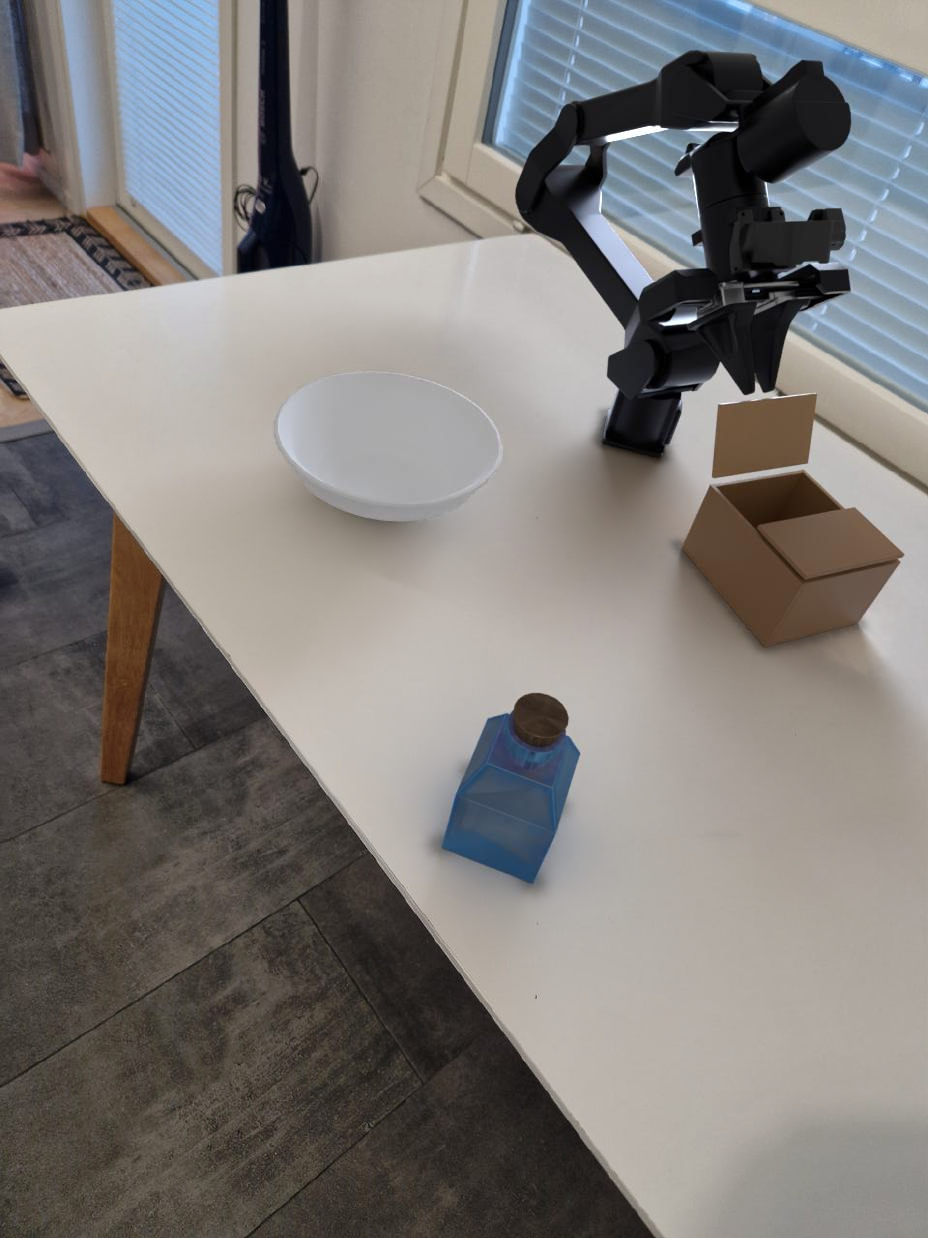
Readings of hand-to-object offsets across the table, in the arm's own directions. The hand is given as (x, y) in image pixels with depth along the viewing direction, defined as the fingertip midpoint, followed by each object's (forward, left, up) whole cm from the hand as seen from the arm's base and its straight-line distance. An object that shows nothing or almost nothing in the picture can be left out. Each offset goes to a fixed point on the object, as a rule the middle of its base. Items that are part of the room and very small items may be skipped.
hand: (759, 392), depth 75 cm
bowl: (-30, -9, -14) cm, 34 cm away
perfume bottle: (-13, -40, -14) cm, 44 cm away
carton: (+6, -8, -14) cm, 17 cm away
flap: (+2, -2, -3) cm, 4 cm away
